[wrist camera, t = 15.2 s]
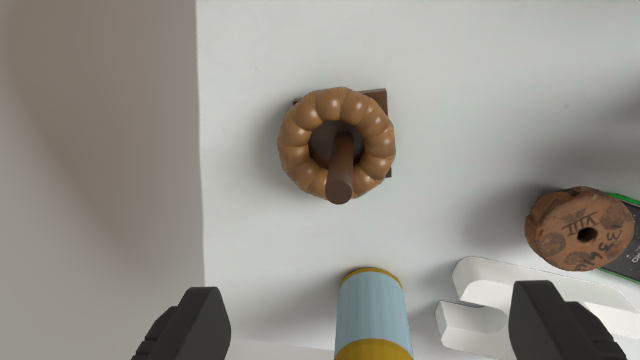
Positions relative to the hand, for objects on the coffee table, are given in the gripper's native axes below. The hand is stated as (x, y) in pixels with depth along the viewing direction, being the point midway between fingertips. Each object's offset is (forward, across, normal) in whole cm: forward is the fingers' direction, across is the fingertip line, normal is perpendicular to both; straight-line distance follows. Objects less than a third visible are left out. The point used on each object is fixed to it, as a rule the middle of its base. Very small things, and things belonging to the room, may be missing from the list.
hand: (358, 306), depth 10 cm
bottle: (+24, 0, +22) cm, 32 cm away
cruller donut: (+22, +2, +4) cm, 22 cm away
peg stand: (+24, +2, +4) cm, 25 cm away
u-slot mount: (+24, -16, +25) cm, 38 cm away
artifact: (+24, -17, +12) cm, 32 cm away
